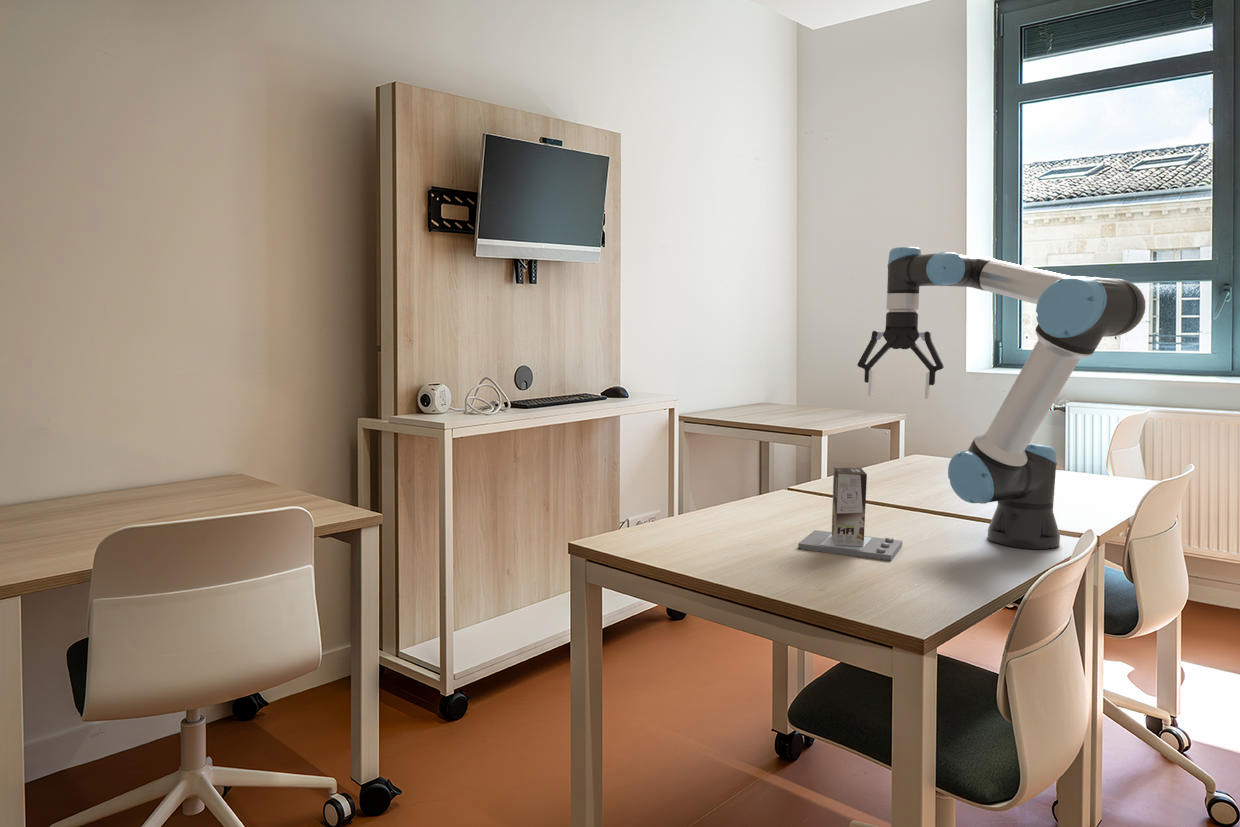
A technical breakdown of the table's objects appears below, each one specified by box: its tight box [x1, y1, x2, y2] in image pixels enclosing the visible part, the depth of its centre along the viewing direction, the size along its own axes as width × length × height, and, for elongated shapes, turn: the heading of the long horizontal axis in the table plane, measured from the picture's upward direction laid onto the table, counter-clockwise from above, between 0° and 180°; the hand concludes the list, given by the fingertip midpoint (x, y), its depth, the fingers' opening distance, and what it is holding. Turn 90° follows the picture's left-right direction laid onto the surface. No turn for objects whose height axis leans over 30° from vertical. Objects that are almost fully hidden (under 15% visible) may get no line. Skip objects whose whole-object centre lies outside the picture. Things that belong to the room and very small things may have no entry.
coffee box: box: [831, 467, 868, 547], centre depth 191 cm, size 9×6×16 cm
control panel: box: [797, 529, 903, 561], centre depth 192 cm, size 20×14×2 cm
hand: (898, 397), depth 213 cm, fingers open, 13 cm apart
